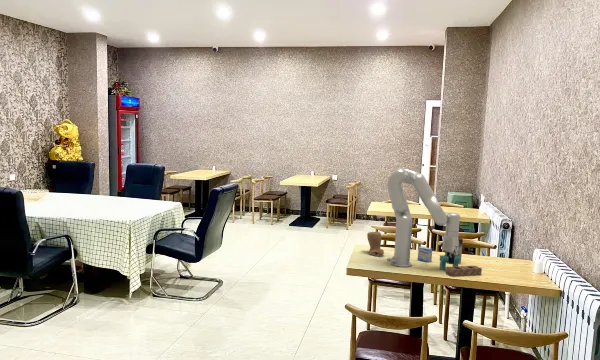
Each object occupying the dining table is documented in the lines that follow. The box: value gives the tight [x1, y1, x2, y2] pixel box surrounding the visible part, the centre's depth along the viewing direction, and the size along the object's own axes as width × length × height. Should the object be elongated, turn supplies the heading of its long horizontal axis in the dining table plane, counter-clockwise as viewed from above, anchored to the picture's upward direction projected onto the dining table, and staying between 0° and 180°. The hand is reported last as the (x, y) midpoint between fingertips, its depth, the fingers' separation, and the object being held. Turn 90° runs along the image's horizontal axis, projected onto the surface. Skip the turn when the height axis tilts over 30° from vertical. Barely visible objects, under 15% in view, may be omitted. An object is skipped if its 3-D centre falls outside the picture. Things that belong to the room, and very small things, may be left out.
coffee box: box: [446, 237, 464, 265], centre depth 299 cm, size 9×6×16 cm
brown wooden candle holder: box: [445, 265, 483, 277], centre depth 273 cm, size 20×6×4 cm, turn 107°
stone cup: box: [366, 231, 385, 257], centre depth 312 cm, size 15×12×15 cm
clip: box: [439, 254, 460, 270], centre depth 282 cm, size 12×3×8 cm, turn 107°
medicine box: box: [417, 245, 433, 263], centre depth 300 cm, size 8×4×9 cm, turn 47°
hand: (449, 262), depth 282 cm, fingers closed on clip, 3 cm apart
